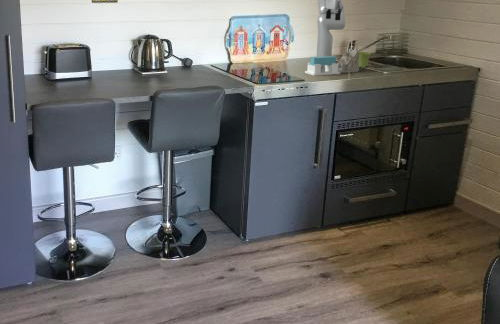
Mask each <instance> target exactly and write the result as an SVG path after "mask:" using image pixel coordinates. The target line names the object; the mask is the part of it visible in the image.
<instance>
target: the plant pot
mask: <svg viewBox="0 0 500 324" xmlns="http://www.w3.org/2000/svg"><path fill="white" fill-rule="evenodd" d="M358 54H359V60H358V62H359V68H367V67H368V63H369V59H370V56H371V54H372V53H371V52H365V51H358ZM366 66H367V67H366Z"/></svg>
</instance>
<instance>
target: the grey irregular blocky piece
mask: <svg viewBox="0 0 500 324" xmlns="http://www.w3.org/2000/svg"><path fill="white" fill-rule="evenodd" d="M358 52H359V51H358V46H355V47H354V48H353V49H352V48H349V49H348V52H344V53H343V54H342V56H341V57H340V58H339V61H338V62H337V63H338V72H340V73H347V72H348V73H351V72H352V73H358V71H359V72H360V67H359V62H358V60H359V54H358Z"/></svg>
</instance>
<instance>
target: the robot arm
mask: <svg viewBox="0 0 500 324" xmlns="http://www.w3.org/2000/svg"><path fill="white" fill-rule="evenodd" d="M317 7H318V13H319V15H318V16H317V18H316V19H317V20H316V21H317V22H316V24H317V45H316V57H323V56H333V55H332V53H333V41H334V38H333V34H332V33H331V32H330V31H334V30H335V31H336V30H337V31H340V30H343V29H344V28H345V27H346V16H345V15H346V14H345V6H344V3H343V2H342V0H317ZM321 67H325V65H321Z"/></svg>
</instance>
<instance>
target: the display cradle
mask: <svg viewBox="0 0 500 324" xmlns="http://www.w3.org/2000/svg"><path fill="white" fill-rule="evenodd" d="M304 73H305V74H307V75H311V76H328V75H340V74H341V72H338V62H336V63H334V64H332V65H325V66H321V64H316V65H314V66H313V65H310V62H307V70H305V71H304Z"/></svg>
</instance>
